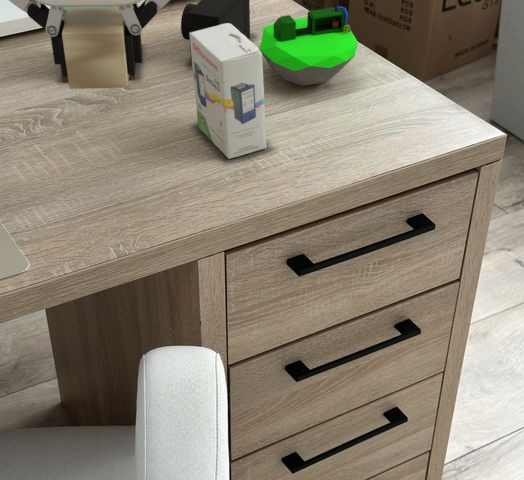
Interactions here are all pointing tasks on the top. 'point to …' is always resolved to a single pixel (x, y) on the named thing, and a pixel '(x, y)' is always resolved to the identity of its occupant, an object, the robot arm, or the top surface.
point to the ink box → (229, 89)
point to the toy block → (95, 48)
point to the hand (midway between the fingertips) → (99, 68)
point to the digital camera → (216, 16)
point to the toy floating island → (309, 45)
